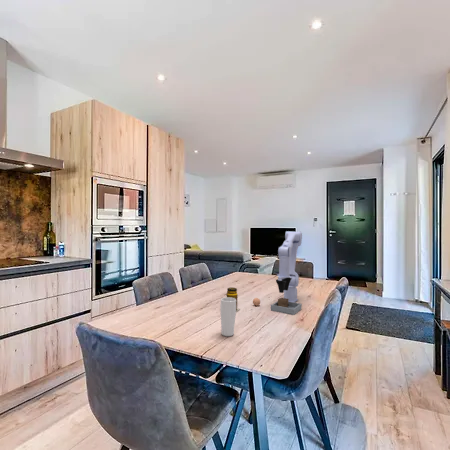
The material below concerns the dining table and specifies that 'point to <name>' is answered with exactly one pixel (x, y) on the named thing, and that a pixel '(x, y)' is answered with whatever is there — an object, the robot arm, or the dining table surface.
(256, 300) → the ball
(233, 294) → the condiment
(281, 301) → the cube
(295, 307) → the tray
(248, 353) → the dining table surface
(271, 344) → the dining table surface
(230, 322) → the drinking glass
